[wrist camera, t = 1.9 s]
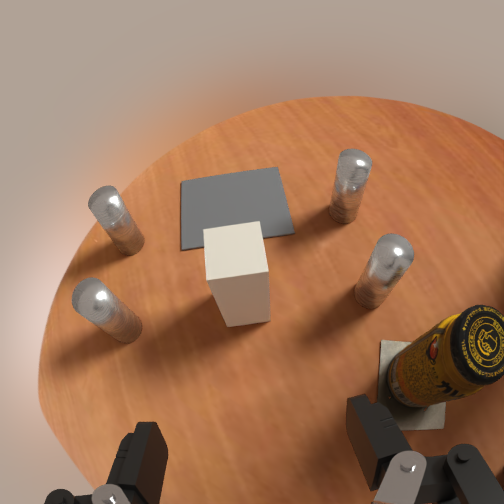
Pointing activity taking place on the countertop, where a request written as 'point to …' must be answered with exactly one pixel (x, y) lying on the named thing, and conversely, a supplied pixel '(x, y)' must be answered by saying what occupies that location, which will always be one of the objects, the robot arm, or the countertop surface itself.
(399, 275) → the posts
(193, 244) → the grey mat
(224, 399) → the countertop surface
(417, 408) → the condiment
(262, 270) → the cream block
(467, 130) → the countertop surface
